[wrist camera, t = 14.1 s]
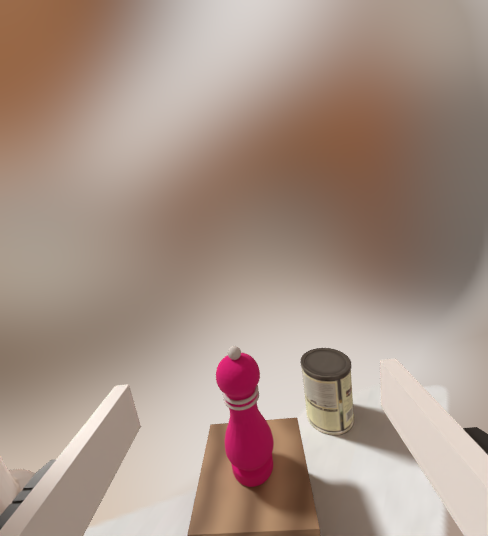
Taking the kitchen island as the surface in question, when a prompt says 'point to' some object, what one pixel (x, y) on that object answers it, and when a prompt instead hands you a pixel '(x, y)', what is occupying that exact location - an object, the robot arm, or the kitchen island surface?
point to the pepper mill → (245, 419)
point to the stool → (255, 490)
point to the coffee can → (328, 390)
